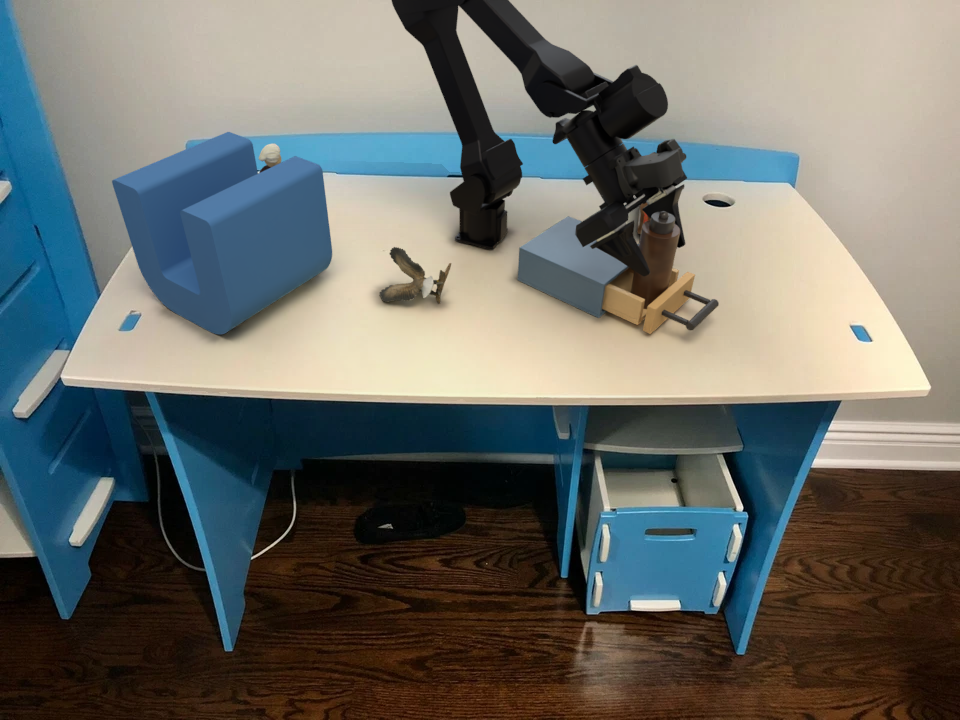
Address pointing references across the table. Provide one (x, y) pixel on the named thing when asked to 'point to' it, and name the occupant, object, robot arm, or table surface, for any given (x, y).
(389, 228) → the table surface
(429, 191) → the table surface
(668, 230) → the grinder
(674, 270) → the drawer
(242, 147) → the block
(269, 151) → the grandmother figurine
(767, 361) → the table surface
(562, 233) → the cabinet
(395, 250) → the eagle figurine
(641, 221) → the tin
